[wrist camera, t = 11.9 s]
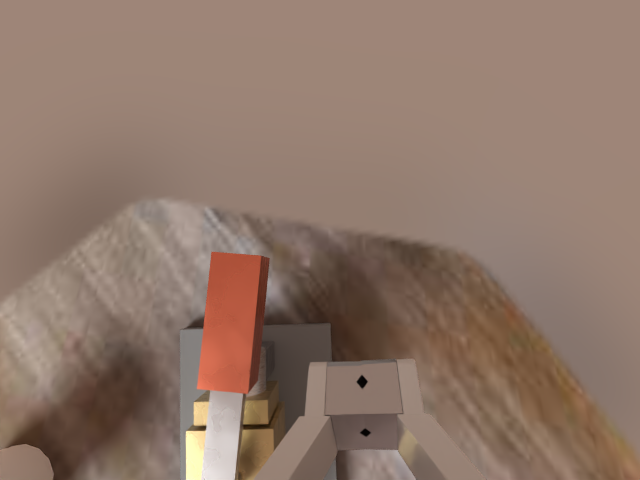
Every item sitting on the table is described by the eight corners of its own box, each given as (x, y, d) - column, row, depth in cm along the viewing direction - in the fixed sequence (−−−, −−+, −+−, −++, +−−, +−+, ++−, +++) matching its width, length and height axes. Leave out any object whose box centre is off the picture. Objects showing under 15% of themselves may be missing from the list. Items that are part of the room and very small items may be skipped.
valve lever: (245, 516, 25) (233, 549, 22) (198, 511, 25) (180, 543, 22) (269, 258, 26) (261, 255, 23) (225, 254, 26) (211, 251, 23)
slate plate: (186, 526, 36) (180, 536, 35) (185, 327, 38) (179, 329, 36) (338, 523, 36) (338, 534, 34) (330, 322, 37) (330, 324, 36)
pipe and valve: (225, 523, 35) (173, 638, 24) (222, 339, 36) (173, 366, 25) (292, 522, 34) (272, 638, 23) (287, 337, 36) (266, 363, 25)
